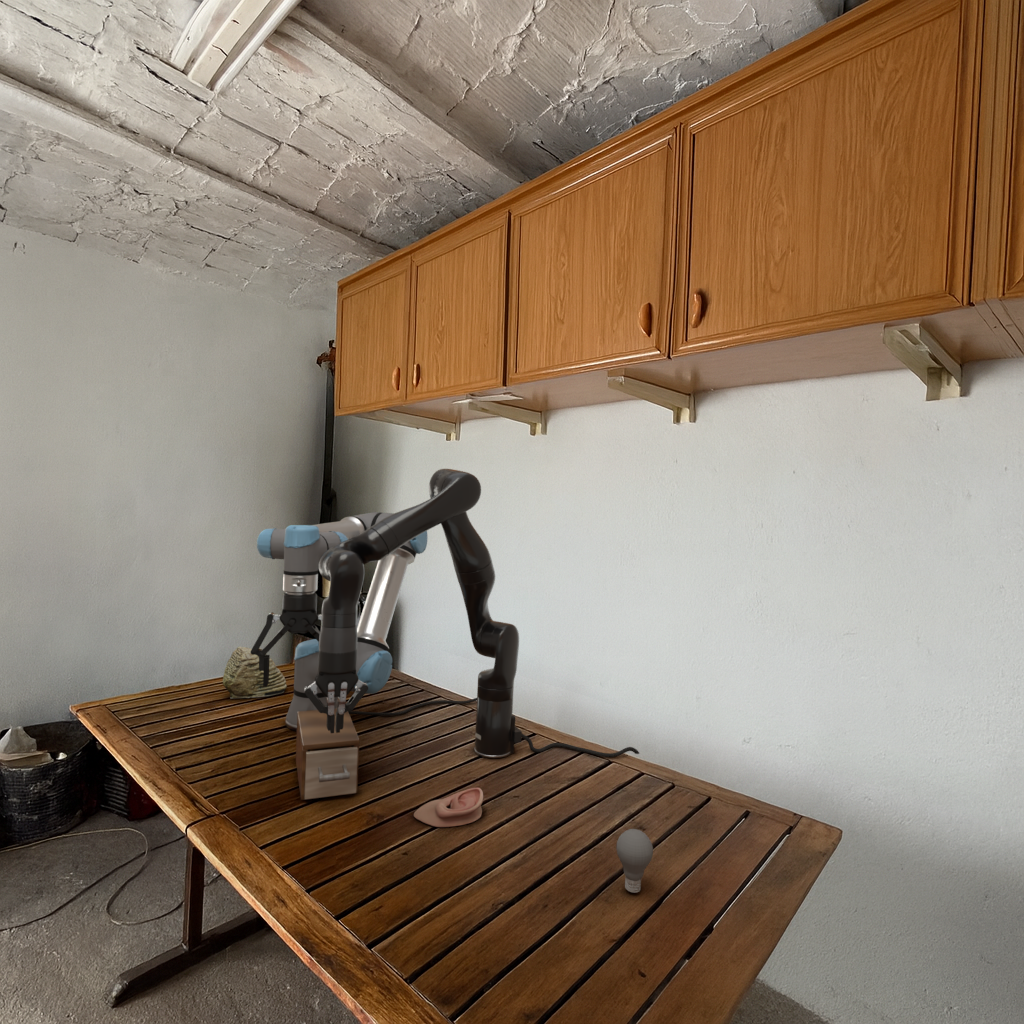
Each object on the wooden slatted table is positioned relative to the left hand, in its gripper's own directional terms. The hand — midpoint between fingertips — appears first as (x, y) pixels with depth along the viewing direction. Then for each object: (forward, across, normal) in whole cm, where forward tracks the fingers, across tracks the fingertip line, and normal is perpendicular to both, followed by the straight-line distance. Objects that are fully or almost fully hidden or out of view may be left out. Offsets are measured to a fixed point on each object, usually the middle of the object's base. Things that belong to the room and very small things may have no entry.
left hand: (297, 684), depth 146 cm
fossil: (+20, -19, +57) cm, 63 cm away
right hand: (+4, +10, -20) cm, 22 cm away
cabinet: (+20, +7, -4) cm, 21 cm away
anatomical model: (+20, +33, -25) cm, 46 cm away
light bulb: (+20, +61, -55) cm, 84 cm away
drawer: (+19, +8, -9) cm, 23 cm away
